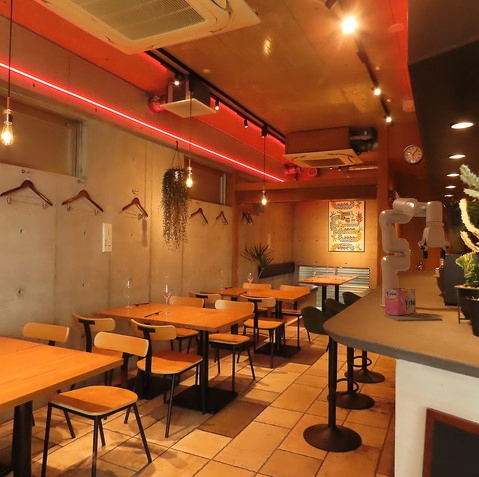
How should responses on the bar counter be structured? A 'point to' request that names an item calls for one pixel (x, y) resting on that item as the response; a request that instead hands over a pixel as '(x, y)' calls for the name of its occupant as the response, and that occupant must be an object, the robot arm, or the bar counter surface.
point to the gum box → (400, 301)
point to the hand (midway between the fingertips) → (434, 258)
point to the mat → (413, 317)
